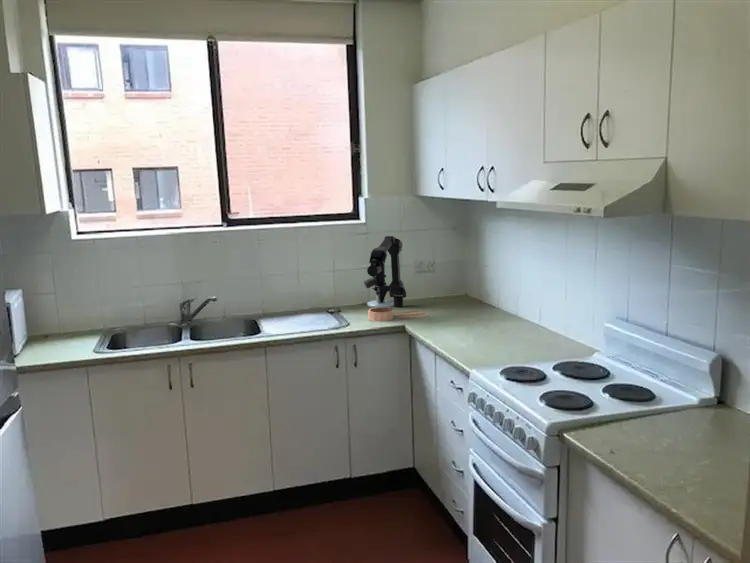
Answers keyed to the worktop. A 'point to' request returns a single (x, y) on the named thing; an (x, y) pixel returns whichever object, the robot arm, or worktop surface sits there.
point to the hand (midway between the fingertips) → (380, 301)
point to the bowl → (380, 314)
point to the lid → (378, 304)
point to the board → (410, 315)
